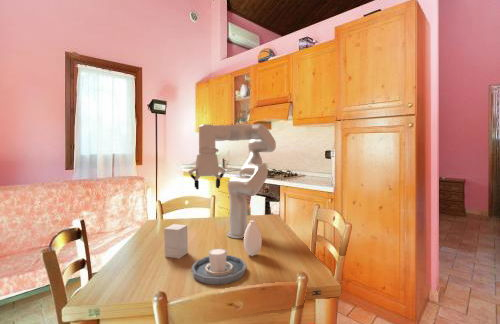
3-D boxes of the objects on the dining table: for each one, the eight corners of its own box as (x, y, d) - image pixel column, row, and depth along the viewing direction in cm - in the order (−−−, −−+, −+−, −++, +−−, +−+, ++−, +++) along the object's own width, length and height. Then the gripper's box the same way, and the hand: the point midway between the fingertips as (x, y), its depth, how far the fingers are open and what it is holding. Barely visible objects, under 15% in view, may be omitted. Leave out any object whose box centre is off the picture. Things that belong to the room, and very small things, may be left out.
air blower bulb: (248, 260, 113) (248, 218, 112) (240, 253, 120) (240, 213, 119) (264, 256, 117) (264, 215, 116) (256, 250, 123) (256, 212, 122)
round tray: (234, 257, 116) (234, 252, 116) (253, 278, 98) (253, 271, 97) (187, 265, 108) (187, 259, 108) (198, 289, 90) (198, 282, 90)
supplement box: (188, 252, 121) (188, 225, 120) (178, 259, 114) (178, 229, 113) (174, 250, 123) (174, 223, 123) (164, 256, 116) (163, 228, 116)
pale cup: (209, 265, 106) (209, 248, 105) (226, 265, 106) (226, 247, 106) (208, 273, 99) (208, 255, 99) (227, 273, 100) (227, 254, 99)
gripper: (222, 151, 131) (222, 186, 132) (186, 151, 124) (187, 188, 125) (227, 151, 124) (227, 188, 125) (189, 151, 117) (190, 190, 118)
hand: (207, 188), depth 125 cm, fingers open, 9 cm apart
